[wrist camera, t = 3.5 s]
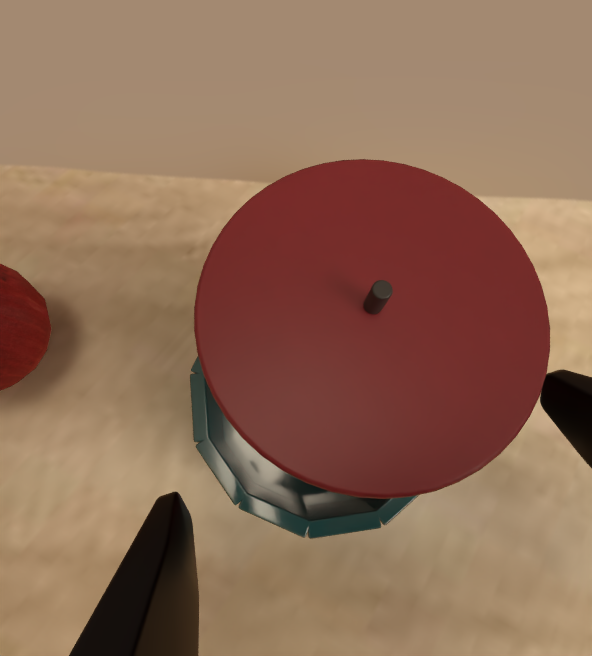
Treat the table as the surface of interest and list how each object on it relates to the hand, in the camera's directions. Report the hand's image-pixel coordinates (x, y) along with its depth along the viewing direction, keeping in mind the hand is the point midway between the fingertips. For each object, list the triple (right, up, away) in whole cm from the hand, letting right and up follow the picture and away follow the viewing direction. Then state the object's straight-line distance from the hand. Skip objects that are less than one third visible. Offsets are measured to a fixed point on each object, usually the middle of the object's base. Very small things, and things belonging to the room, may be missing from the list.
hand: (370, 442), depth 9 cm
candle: (-1, -1, +9) cm, 9 cm away
